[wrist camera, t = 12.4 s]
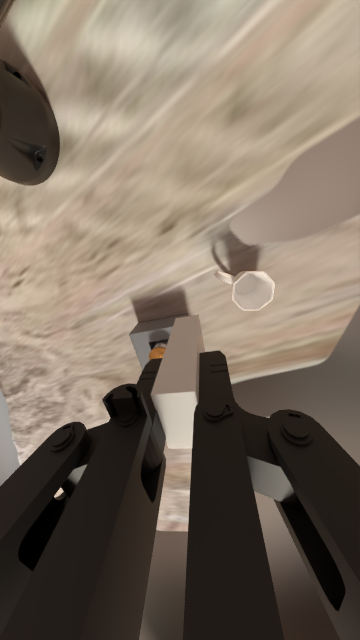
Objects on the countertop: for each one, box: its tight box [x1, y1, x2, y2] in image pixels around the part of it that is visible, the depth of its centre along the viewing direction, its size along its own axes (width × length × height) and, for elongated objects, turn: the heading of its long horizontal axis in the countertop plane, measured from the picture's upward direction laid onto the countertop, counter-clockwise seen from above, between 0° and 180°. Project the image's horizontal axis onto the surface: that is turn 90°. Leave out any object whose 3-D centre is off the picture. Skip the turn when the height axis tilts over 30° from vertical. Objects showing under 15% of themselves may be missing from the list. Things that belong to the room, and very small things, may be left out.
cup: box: [214, 271, 275, 310], centre depth 34 cm, size 7×10×8 cm
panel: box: [129, 314, 188, 370], centre depth 45 cm, size 26×12×6 cm, turn 14°
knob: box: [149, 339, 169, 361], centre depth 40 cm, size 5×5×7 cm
